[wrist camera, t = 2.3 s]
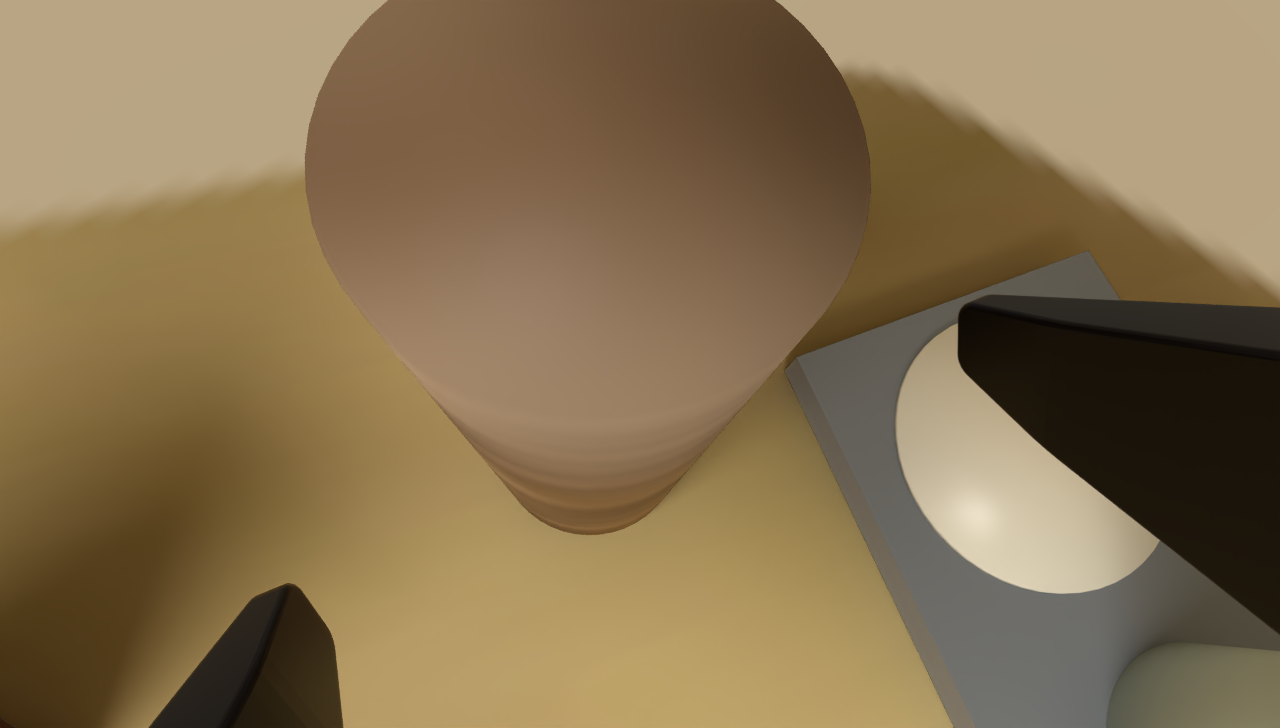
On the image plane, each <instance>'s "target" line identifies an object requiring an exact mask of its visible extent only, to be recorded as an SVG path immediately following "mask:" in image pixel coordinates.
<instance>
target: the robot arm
mask: <svg viewBox="0 0 1280 728" xmlns="http://www.w3.org/2000/svg"><path fill="white" fill-rule="evenodd" d="M957 355H958V361H959V364H960V366H961V368H962V370H963V371H964V372H965V374H966V375H967V376H968V377H969V378H970V379H971V380H973V381H974V382H975V383H976V384H977V385H978V386H979V387H980V388H981V389H982V390H983V391H984V392H985V393H986V394H987V395H988V396H989V397H990V398H991V399H992V400H993V401H994V402H995V403H997V404H998V405H999V406H1000V407H1001V408H1002V409H1003V410H1004V411H1005V412H1006V413H1007V414H1008V415H1009V416H1010V417H1011V418H1012V419H1013V420H1014V421H1015V422H1016V423H1017V424H1018V425H1019V426H1020V427H1022V428H1023V429H1024V430H1025V431H1026V432H1027V433H1028V434H1029V435H1030V436H1031V437H1032V438H1033V439H1034V440H1035V441H1036V442H1038V443H1039V444H1040V445H1041V446H1042V447H1043V448H1044V449H1045V450H1047V451H1048V452H1049V453H1050V454H1052V455H1053V456H1054V457H1055V458H1056V459H1058V460H1059V461H1060V462H1061V463H1063V464H1064V465H1065V466H1066V467H1068V468H1069V469H1070V470H1071V471H1073V472H1074V473H1075V474H1077V475H1078V476H1079V477H1080V478H1082V479H1083V480H1084V481H1085V482H1087V483H1088V484H1089V485H1090V486H1092V487H1093V488H1094V489H1095V490H1097V491H1098V492H1099V493H1100V494H1102V495H1103V496H1104V497H1106V498H1107V499H1108V500H1109V501H1111V502H1112V503H1113V504H1114V505H1116V506H1117V507H1118V508H1119V509H1121V510H1122V511H1123V512H1124V513H1126V514H1127V515H1128V516H1130V517H1131V518H1132V519H1133V520H1135V521H1136V522H1137V523H1138V524H1140V525H1141V526H1142V527H1143V528H1145V529H1146V530H1147V531H1148V532H1150V533H1151V534H1152V535H1154V536H1155V537H1156V538H1157V539H1159V540H1160V541H1161V542H1162V543H1164V544H1165V545H1166V546H1167V547H1169V548H1170V549H1171V550H1172V551H1174V552H1175V553H1176V554H1178V555H1179V556H1180V557H1181V558H1183V559H1184V560H1185V561H1186V562H1188V563H1189V564H1190V565H1191V566H1193V567H1194V568H1195V569H1196V570H1198V571H1199V572H1200V573H1202V574H1203V575H1204V576H1205V577H1207V578H1208V579H1209V580H1210V581H1212V582H1213V583H1214V584H1215V585H1217V586H1218V587H1219V588H1220V589H1222V590H1223V591H1224V592H1226V593H1227V594H1228V595H1229V596H1231V597H1232V598H1233V599H1234V600H1236V601H1237V602H1238V603H1239V604H1241V605H1242V606H1243V607H1244V608H1246V609H1247V610H1248V611H1250V612H1251V613H1252V614H1253V615H1255V616H1256V617H1257V618H1258V619H1260V620H1261V621H1262V622H1263V623H1265V624H1266V625H1267V626H1268V627H1270V628H1271V629H1272V630H1273V631H1275V632H1276V633H1277V634H1279V635H1280V308H1275V307H1254V306H1232V305H1211V304H1190V303H1168V302H1147V301H1126V300H1104V299H1083V298H1061V297H1040V296H1019V295H997V294H990V295H985V296H983V297H980V298H978V299H975V300H973V301H971V302H968V303H966V304H964V305H963V306H962V307H961V309H960V311H959V313H958V349H957ZM149 728H343V719H342V710H341V700H340V690H339V681H338V671H337V661H336V652H335V645H334V641H333V638H332V635H331V633H330V631H329V629H328V627H327V626H326V624H325V623H324V621H323V620H322V619H321V617H320V616H319V614H318V613H317V612H316V610H315V609H314V607H313V606H312V604H311V603H310V602H309V600H308V599H307V597H306V596H305V595H304V593H303V592H302V590H301V589H300V588H299V587H297V586H296V585H295V584H290V583H287V584H284V585H281V586H279V587H276V588H274V589H272V590H269V591H267V592H264V593H262V594H259V595H257V596H255V597H254V598H252V599H251V600H250V602H249V603H248V604H247V605H246V606H245V608H244V609H243V610H242V611H241V613H240V614H239V615H238V616H237V618H236V619H235V620H234V621H233V623H232V624H231V625H230V626H229V628H228V629H227V630H226V631H225V633H224V634H223V635H222V636H221V638H220V639H219V640H218V641H217V643H216V644H215V645H214V646H213V648H212V649H211V650H210V651H209V653H208V654H207V655H206V656H205V658H204V659H203V660H202V661H201V663H200V664H199V665H198V666H197V668H196V669H195V670H194V671H193V673H192V674H191V675H190V676H189V678H188V679H187V680H186V681H185V683H184V684H183V685H182V686H181V688H180V689H179V690H178V691H177V693H176V694H175V695H174V696H173V698H172V699H171V700H170V701H169V703H168V704H167V705H166V706H165V708H164V709H163V710H162V711H161V713H160V714H159V715H158V716H157V718H156V719H155V720H154V721H153V723H152V724H151V725H150V726H149Z"/></svg>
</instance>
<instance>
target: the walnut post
mask: <svg viewBox="0 0 1280 728" xmlns="http://www.w3.org/2000/svg"><path fill="white" fill-rule="evenodd" d="M305 180H306V194H307V199H308V204H309V209H310V215H311V220H312V224H313V227H314V230H315V233H316V235H317V238H318V241H319V243H320V246H321V249H322V252H323V254H324V257H325V259H326V260H327V262H328V264H329V266H330V268H331V269H332V271H333V273H334V275H335V277H336V278H337V280H338V282H339V284H340V286H341V287H342V289H343V290H344V291H345V293H346V294H347V295H348V297H349V298H350V299H351V300H352V302H353V303H354V304H355V306H356V307H357V308H358V309H359V311H360V312H361V313H362V315H363V316H364V317H365V318H366V320H367V321H368V322H369V323H370V324H371V326H372V327H373V328H374V329H375V330H376V332H377V333H378V334H379V335H380V336H381V337H382V339H383V340H384V341H385V342H386V343H387V345H388V346H389V347H390V348H391V349H392V351H393V352H394V353H395V354H396V355H397V357H398V358H399V359H400V360H401V361H402V363H403V364H404V365H405V366H406V367H407V369H408V370H409V371H410V372H411V373H412V374H413V376H414V377H415V378H416V379H417V380H418V382H419V383H420V384H421V385H422V386H423V388H424V389H425V390H426V391H427V392H428V394H429V395H430V396H431V397H432V398H433V400H434V401H435V402H436V403H437V404H438V406H439V407H440V408H441V409H442V410H443V411H444V413H445V414H446V415H447V416H448V417H449V419H450V420H451V421H452V422H453V423H454V425H455V426H456V427H457V428H458V429H459V431H460V432H461V433H462V434H463V435H464V437H465V438H466V439H467V440H468V441H469V443H470V444H471V445H472V446H473V447H474V448H475V450H476V451H477V452H478V453H479V454H480V456H481V457H482V458H483V459H484V460H485V462H486V463H487V464H488V465H489V466H490V468H491V469H492V470H493V471H494V472H495V474H496V475H497V476H498V477H499V478H500V479H501V481H502V482H503V483H504V484H505V485H506V487H507V488H508V489H509V490H510V491H511V493H512V494H513V495H514V496H515V497H516V499H517V500H518V501H519V502H520V503H521V505H522V506H523V507H524V508H525V509H526V510H528V511H529V512H530V513H531V514H532V515H533V516H535V517H536V518H537V519H539V520H540V521H542V522H544V523H545V524H547V525H549V526H551V527H553V528H556V529H559V530H561V531H565V532H569V533H573V534H581V535H600V534H605V533H611V532H614V531H618V530H621V529H624V528H626V527H628V526H630V525H632V524H634V523H636V522H637V521H639V520H641V519H642V518H644V517H645V516H646V515H647V514H649V513H650V512H651V511H652V510H653V509H654V508H655V507H656V506H657V505H658V504H659V503H660V502H661V500H662V499H663V498H664V497H665V496H666V495H667V494H668V492H669V491H670V490H671V489H672V488H673V487H674V486H675V484H676V483H677V482H678V481H679V480H680V479H681V477H682V476H683V475H684V474H685V473H686V472H687V471H688V469H689V468H690V467H691V466H692V465H693V464H694V463H695V461H696V460H697V459H698V458H699V457H700V456H701V454H702V453H703V452H704V451H705V450H706V449H707V448H708V446H709V445H710V444H711V443H712V442H713V441H714V439H715V438H716V437H717V436H718V435H719V434H720V433H721V431H722V430H723V429H724V428H725V427H726V426H727V425H728V423H729V422H730V421H731V420H732V419H733V418H734V416H735V415H736V414H737V413H738V412H739V411H740V410H741V408H742V407H743V406H744V405H745V404H746V403H747V402H748V400H749V399H750V398H751V397H752V396H753V395H754V393H755V392H756V391H757V390H758V389H759V388H760V387H761V385H762V384H763V383H764V382H765V381H766V380H767V378H768V377H769V376H770V375H771V374H772V373H773V372H774V370H775V369H776V368H777V367H778V366H779V365H780V364H781V362H782V361H783V360H784V359H785V358H786V357H787V355H788V354H789V353H790V352H791V351H792V350H793V349H794V347H795V346H796V345H797V344H798V343H799V342H800V341H801V339H802V338H803V337H804V336H805V335H806V334H807V332H808V331H809V330H810V329H811V328H812V327H813V326H814V324H815V323H816V322H817V321H818V320H819V319H820V317H821V316H822V315H823V314H824V313H825V312H826V311H827V309H828V308H829V306H830V305H831V303H832V301H833V300H834V298H835V297H836V295H837V294H838V292H839V291H840V289H841V288H842V286H843V285H844V283H845V281H846V279H847V277H848V275H849V273H850V270H851V268H852V266H853V264H854V261H855V259H856V257H857V255H858V253H859V249H860V246H861V242H862V239H863V235H864V231H865V228H866V224H867V219H868V211H869V202H870V193H871V182H870V159H869V153H868V148H867V143H866V137H865V132H864V128H863V125H862V122H861V119H860V116H859V113H858V110H857V107H856V104H855V102H854V100H853V98H852V96H851V94H850V91H849V89H848V87H847V85H846V83H845V81H844V79H843V77H842V75H841V74H840V72H839V71H838V69H837V68H836V66H835V65H834V63H833V62H832V60H831V59H830V57H829V56H828V54H827V53H826V51H825V50H824V48H823V47H822V46H821V45H820V44H819V43H818V42H817V40H816V39H815V38H814V37H813V36H812V35H811V33H810V32H809V31H808V30H807V29H806V28H805V27H804V25H802V24H801V23H800V22H799V21H798V20H797V19H796V18H795V17H794V16H793V15H792V14H790V13H789V12H788V11H787V10H786V9H785V8H784V7H783V6H782V5H780V4H779V3H778V2H776V1H775V0H388V1H387V2H386V3H385V4H383V5H382V6H381V7H380V8H379V9H378V10H377V11H375V12H374V13H373V14H372V15H371V16H370V17H369V18H368V19H367V20H366V21H365V23H364V24H363V25H362V26H361V27H360V28H359V29H358V30H357V32H356V33H355V34H354V35H353V36H352V37H351V38H350V40H349V41H348V42H347V44H346V46H345V47H344V48H343V50H342V51H341V53H340V55H339V56H338V57H337V59H336V61H335V62H334V63H333V65H332V67H331V69H330V71H329V73H328V75H327V77H326V79H325V82H324V84H323V86H322V88H321V90H320V92H319V94H318V97H317V100H316V104H315V107H314V111H313V114H312V117H311V121H310V124H309V130H308V137H307V145H306V153H305Z"/></svg>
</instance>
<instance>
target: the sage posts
mask: <svg viewBox="0 0 1280 728" xmlns="http://www.w3.org/2000/svg"><path fill="white" fill-rule="evenodd" d="M1106 728H1280V651H1273V650H1262V649H1252V648H1241V647H1231V646H1221V645H1210V644H1200V643H1189V642H1173V643H1167V644H1162V645H1158V646H1156V647H1153V648H1151V649H1149V650H1147V651H1145V652H1144V653H1142V654H1140V655H1139V656H1137V657H1136V658H1135V659H1134V660H1133V661H1132V662H1131V663H1130V664H1129V665H1128V666H1127V667H1126V669H1125V670H1124V671H1123V672H1122V674H1121V675H1120V677H1119V679H1118V681H1117V683H1116V684H1115V687H1114V689H1113V692H1112V695H1111V698H1110V702H1109V706H1108V711H1107V721H1106Z"/></svg>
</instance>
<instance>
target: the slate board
mask: <svg viewBox="0 0 1280 728" xmlns="http://www.w3.org/2000/svg"><path fill="white" fill-rule="evenodd" d="M990 294H997V295H1019V296H1040V297H1061V298H1083V299H1104V300H1120V298H1119V297H1118V295H1117V294H1116V292H1115V291H1114V289H1113V287H1112V286H1111V284H1110V283H1109V281H1108V280H1107V278H1106V277H1105V275H1104V274H1103V272H1102V271H1101V269H1100V267H1099V266H1098V264H1097V263H1096V261H1095V260H1094V258H1093V257H1092V255H1091V254H1090V252H1089V251H1085V252H1083V253H1080V254H1077V255H1074V256H1072V257H1069V258H1066V259H1063V260H1061V261H1058V262H1055V263H1053V264H1050V265H1047V266H1044V267H1042V268H1039V269H1036V270H1033V271H1031V272H1028V273H1025V274H1022V275H1020V276H1017V277H1014V278H1012V279H1009V280H1006V281H1003V282H1001V283H998V284H995V285H992V286H990V287H987V288H984V289H981V290H979V291H976V292H973V293H970V294H968V295H965V296H962V297H960V298H957V299H954V300H951V301H949V302H946V303H943V304H940V305H938V306H935V307H932V308H929V309H927V310H924V311H921V312H919V313H916V314H913V315H910V316H908V317H905V318H902V319H899V320H897V321H894V322H891V323H888V324H886V325H883V326H880V327H878V328H875V329H872V330H869V331H867V332H864V333H861V334H858V335H856V336H853V337H850V338H847V339H845V340H842V341H839V342H837V343H834V344H831V345H828V346H826V347H823V348H820V349H817V350H815V351H812V352H809V353H806V354H804V355H801V356H798V357H796V358H795V359H794V360H793V362H792V363H791V364H790V365H789V366H788V367H787V368H786V369H785V370H784V371H785V373H786V375H787V377H788V379H789V381H790V384H791V386H792V388H793V390H794V392H795V394H796V396H797V398H798V400H799V403H800V405H801V407H802V409H803V411H804V413H805V415H806V417H807V419H808V421H809V424H810V426H811V428H812V430H813V432H814V434H815V436H816V438H817V440H818V442H819V445H820V447H821V449H822V451H823V453H824V455H825V457H826V459H827V461H828V464H829V466H830V468H831V470H832V472H833V474H834V476H835V478H836V480H837V482H838V485H839V487H840V489H841V491H842V493H843V495H844V497H845V499H846V501H847V503H848V506H849V508H850V510H851V512H852V514H853V516H854V518H855V520H856V522H857V525H858V527H859V529H860V531H861V533H862V535H863V537H864V539H865V541H866V543H867V546H868V548H869V550H870V552H871V554H872V556H873V558H874V560H875V562H876V564H877V567H878V569H879V571H880V573H881V575H882V577H883V579H884V581H885V583H886V586H887V588H888V590H889V592H890V594H891V596H892V598H893V600H894V602H895V604H896V607H897V609H898V611H899V613H900V615H901V617H902V619H903V621H904V623H905V625H906V628H907V630H908V632H909V634H910V636H911V638H912V640H913V642H914V644H915V647H916V649H917V651H918V653H919V655H920V657H921V659H922V661H923V663H924V665H925V668H926V670H927V672H928V674H929V676H930V678H931V680H932V682H933V684H934V687H935V689H936V691H937V693H938V695H939V697H940V699H941V701H942V703H943V705H944V708H945V710H946V712H947V714H948V716H949V718H950V720H951V722H952V724H953V726H954V728H1106V721H1107V711H1108V706H1109V702H1110V698H1111V695H1112V692H1113V689H1114V687H1115V684H1116V683H1117V681H1118V679H1119V677H1120V675H1121V674H1122V672H1123V671H1124V670H1125V669H1126V667H1127V666H1128V665H1129V664H1130V663H1131V662H1132V661H1133V660H1134V659H1135V658H1136V657H1137V656H1139V655H1140V654H1142V653H1144V652H1145V651H1147V650H1149V649H1151V648H1153V647H1156V646H1158V645H1162V644H1167V643H1173V642H1189V643H1200V644H1210V645H1221V646H1231V647H1241V648H1252V649H1262V650H1273V651H1280V635H1279V634H1277V633H1276V632H1275V631H1273V630H1272V629H1271V628H1270V627H1268V626H1267V625H1266V624H1265V623H1263V622H1262V621H1261V620H1260V619H1258V618H1257V617H1256V616H1255V615H1253V614H1252V613H1251V612H1250V611H1248V610H1247V609H1246V608H1244V607H1243V606H1242V605H1241V604H1239V603H1238V602H1237V601H1236V600H1234V599H1233V598H1232V597H1231V596H1229V595H1228V594H1227V593H1226V592H1224V591H1223V590H1222V589H1220V588H1219V587H1218V586H1217V585H1215V584H1214V583H1213V582H1212V581H1210V580H1209V579H1208V578H1207V577H1205V576H1204V575H1203V574H1202V573H1200V572H1199V571H1198V570H1196V569H1195V568H1194V567H1193V566H1191V565H1190V564H1189V563H1188V562H1186V561H1185V560H1184V559H1183V558H1181V557H1180V556H1179V555H1178V554H1176V553H1175V552H1174V551H1172V550H1171V549H1170V548H1169V547H1167V546H1166V545H1165V544H1164V543H1162V542H1161V541H1160V540H1159V539H1157V538H1156V537H1155V536H1154V535H1152V534H1151V533H1150V532H1148V531H1147V530H1146V529H1145V528H1143V527H1142V526H1141V525H1140V524H1138V523H1137V522H1136V521H1135V520H1133V519H1132V518H1131V517H1130V516H1128V515H1127V514H1126V513H1124V512H1123V511H1122V510H1121V509H1119V508H1118V507H1117V506H1116V505H1114V504H1113V503H1112V502H1111V501H1109V500H1108V499H1107V498H1106V497H1104V496H1103V495H1102V494H1100V493H1099V492H1098V491H1097V490H1095V489H1094V488H1093V487H1092V486H1090V485H1089V484H1088V483H1087V482H1085V481H1084V480H1083V479H1082V478H1080V477H1079V476H1078V475H1077V474H1075V473H1074V472H1073V471H1071V470H1070V469H1069V468H1068V467H1066V466H1065V465H1064V464H1063V463H1061V462H1060V461H1059V460H1058V459H1056V458H1055V457H1054V456H1053V455H1052V454H1050V453H1049V452H1048V451H1047V450H1045V449H1044V448H1043V447H1042V446H1041V445H1040V444H1039V443H1038V442H1036V441H1035V440H1034V439H1033V438H1032V437H1031V436H1030V435H1029V434H1028V433H1027V432H1026V431H1025V430H1024V429H1023V428H1022V427H1020V426H1019V425H1018V424H1017V423H1016V422H1015V421H1014V420H1013V419H1012V418H1011V417H1010V416H1009V415H1008V414H1007V413H1006V412H1005V411H1004V410H1003V409H1002V408H1001V407H1000V406H999V405H998V404H997V403H995V402H994V401H993V400H992V399H991V398H990V397H989V396H988V395H987V394H986V393H985V392H984V391H983V390H982V389H981V388H980V387H979V386H978V385H977V384H976V383H975V382H974V381H973V380H971V379H970V378H969V377H968V376H967V375H966V374H965V372H964V371H963V370H962V368H961V366H960V364H959V361H958V355H957V349H958V313H959V311H960V309H961V307H962V306H963V305H964V304H966V303H968V302H971V301H973V300H975V299H978V298H980V297H983V296H985V295H990Z"/></svg>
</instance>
